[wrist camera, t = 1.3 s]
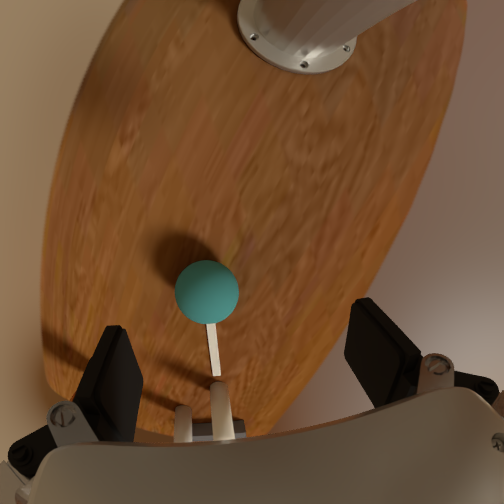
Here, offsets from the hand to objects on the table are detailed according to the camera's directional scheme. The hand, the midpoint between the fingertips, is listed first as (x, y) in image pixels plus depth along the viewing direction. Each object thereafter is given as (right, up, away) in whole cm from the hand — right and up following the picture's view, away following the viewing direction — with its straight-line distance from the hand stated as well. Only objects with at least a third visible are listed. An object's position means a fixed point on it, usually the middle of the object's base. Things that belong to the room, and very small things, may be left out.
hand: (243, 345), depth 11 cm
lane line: (-4, -8, +21) cm, 23 cm away
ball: (-4, 0, +16) cm, 16 cm away
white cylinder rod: (-9, -19, +24) cm, 32 cm away
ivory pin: (-4, -14, +24) cm, 28 cm away
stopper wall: (-5, -23, +26) cm, 35 cm away
